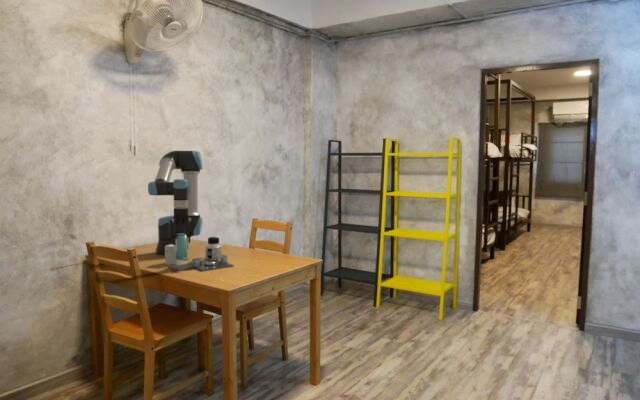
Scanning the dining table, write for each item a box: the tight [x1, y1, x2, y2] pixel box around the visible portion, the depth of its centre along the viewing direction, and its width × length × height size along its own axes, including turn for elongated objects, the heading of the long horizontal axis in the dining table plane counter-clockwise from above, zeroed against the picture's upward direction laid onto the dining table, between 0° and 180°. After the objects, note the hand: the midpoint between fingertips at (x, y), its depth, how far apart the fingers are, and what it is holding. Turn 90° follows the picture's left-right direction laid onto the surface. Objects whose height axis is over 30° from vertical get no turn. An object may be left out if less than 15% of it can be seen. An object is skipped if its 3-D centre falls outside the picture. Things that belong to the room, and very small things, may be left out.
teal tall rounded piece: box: [175, 233, 189, 262], centre depth 249 cm, size 6×12×14 cm, turn 40°
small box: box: [164, 244, 184, 266], centre depth 260 cm, size 8×6×10 cm
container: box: [204, 236, 223, 261], centre depth 274 cm, size 8×8×13 cm
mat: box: [167, 263, 197, 273], centre depth 250 cm, size 11×11×1 cm
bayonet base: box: [186, 253, 234, 272], centre depth 256 cm, size 19×19×5 cm
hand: (181, 249), depth 249 cm, fingers closed on teal tall rounded piece, 6 cm apart
